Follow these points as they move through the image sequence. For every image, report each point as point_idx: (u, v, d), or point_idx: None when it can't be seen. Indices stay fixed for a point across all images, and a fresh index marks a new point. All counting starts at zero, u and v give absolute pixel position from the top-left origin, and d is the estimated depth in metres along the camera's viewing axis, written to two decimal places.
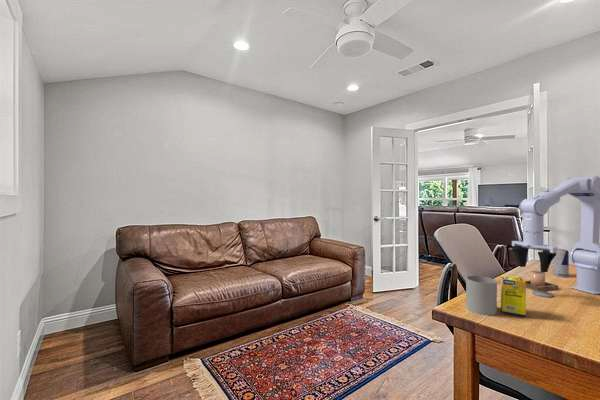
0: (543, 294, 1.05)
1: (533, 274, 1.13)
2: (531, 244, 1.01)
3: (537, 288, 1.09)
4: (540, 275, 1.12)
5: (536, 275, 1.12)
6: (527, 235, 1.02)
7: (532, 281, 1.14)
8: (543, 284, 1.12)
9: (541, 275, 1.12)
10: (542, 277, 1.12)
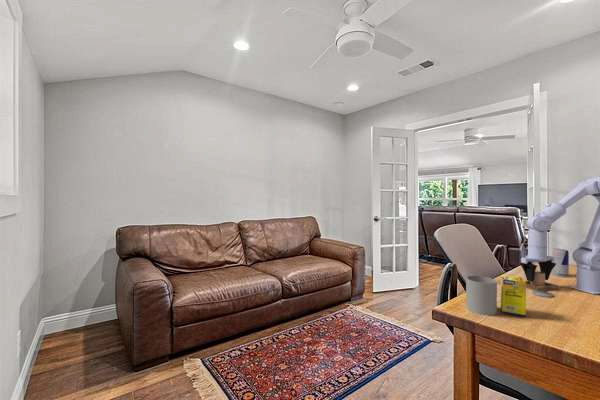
0: (543, 294, 1.05)
1: None
2: (528, 255, 1.16)
3: (537, 288, 1.09)
4: (540, 275, 1.12)
5: (536, 275, 1.12)
6: None
7: None
8: (543, 284, 1.12)
9: (541, 275, 1.12)
10: (542, 277, 1.12)
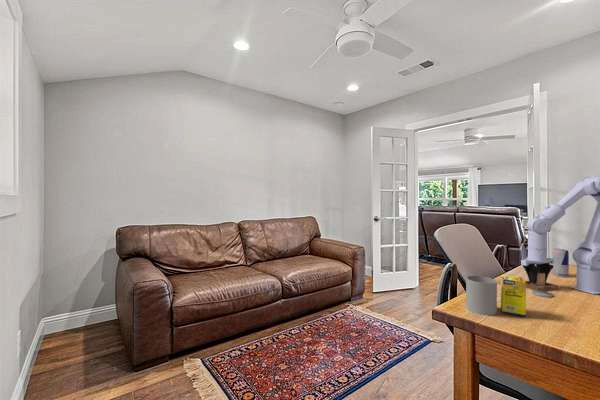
0: (543, 294, 1.05)
1: None
2: (528, 257, 1.16)
3: (537, 288, 1.09)
4: (540, 275, 1.12)
5: None
6: None
7: None
8: (543, 284, 1.12)
9: (541, 275, 1.12)
10: (542, 277, 1.12)
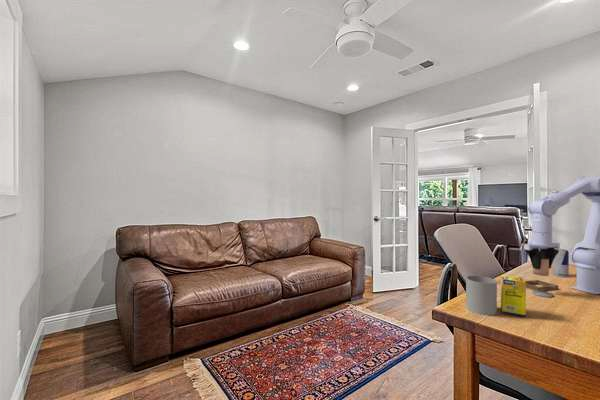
0: (543, 294, 1.05)
1: None
2: (532, 242, 1.09)
3: (537, 288, 1.09)
4: (543, 261, 1.05)
5: None
6: None
7: None
8: (546, 271, 1.05)
9: (544, 261, 1.05)
10: (545, 263, 1.05)
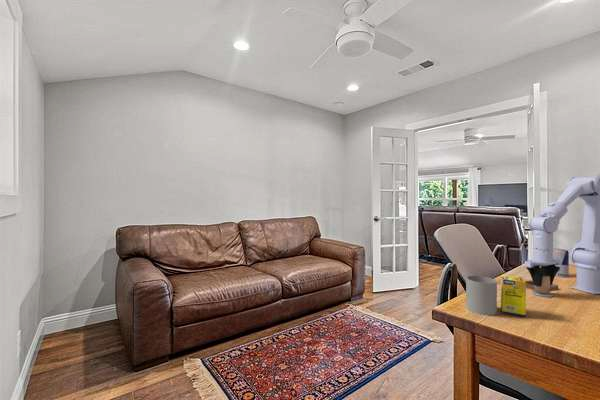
0: (543, 294, 1.05)
1: None
2: (533, 258, 1.07)
3: None
4: (544, 278, 1.04)
5: None
6: None
7: None
8: (547, 288, 1.04)
9: (545, 278, 1.03)
10: (546, 281, 1.03)
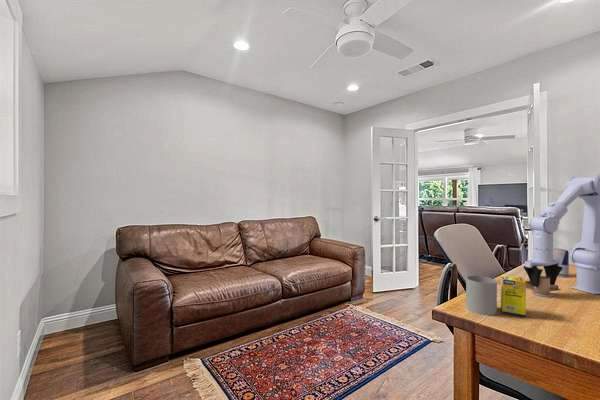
0: None
1: None
2: (533, 258, 1.07)
3: None
4: (544, 280, 1.04)
5: (540, 280, 1.04)
6: None
7: None
8: (547, 290, 1.04)
9: (545, 280, 1.03)
10: (546, 282, 1.03)
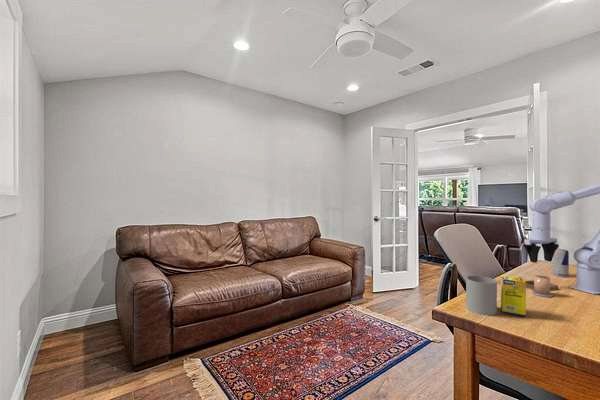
0: None
1: (536, 279, 1.05)
2: (532, 237, 1.18)
3: None
4: (544, 280, 1.04)
5: (540, 280, 1.04)
6: None
7: (535, 286, 1.06)
8: (547, 290, 1.04)
9: (545, 280, 1.03)
10: (546, 282, 1.03)
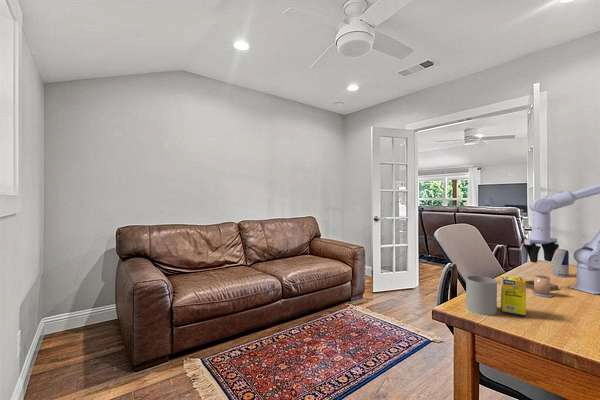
0: None
1: (536, 279, 1.05)
2: (532, 237, 1.18)
3: None
4: (544, 280, 1.04)
5: (540, 280, 1.04)
6: None
7: (535, 286, 1.06)
8: (547, 290, 1.04)
9: (545, 280, 1.03)
10: (546, 282, 1.03)
